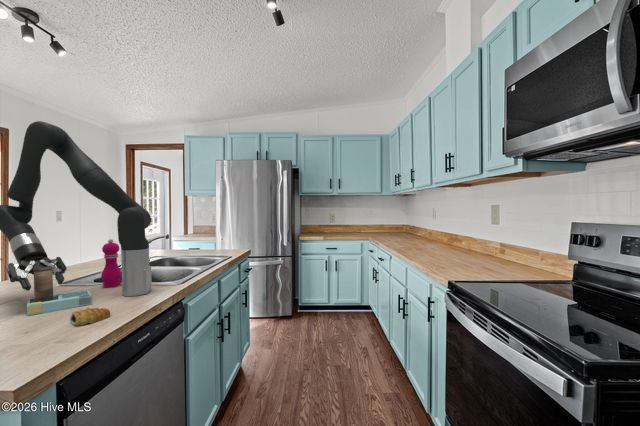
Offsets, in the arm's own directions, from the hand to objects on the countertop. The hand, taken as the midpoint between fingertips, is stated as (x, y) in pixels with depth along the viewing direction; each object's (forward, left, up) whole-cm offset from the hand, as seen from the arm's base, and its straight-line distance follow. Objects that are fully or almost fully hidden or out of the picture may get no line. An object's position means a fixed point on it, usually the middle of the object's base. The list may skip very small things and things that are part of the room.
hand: (45, 285), depth 100 cm
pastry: (-19, +16, -8) cm, 26 cm away
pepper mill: (-9, -27, -8) cm, 29 cm away
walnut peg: (+1, -1, -7) cm, 7 cm away
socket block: (-3, -2, -8) cm, 8 cm away
